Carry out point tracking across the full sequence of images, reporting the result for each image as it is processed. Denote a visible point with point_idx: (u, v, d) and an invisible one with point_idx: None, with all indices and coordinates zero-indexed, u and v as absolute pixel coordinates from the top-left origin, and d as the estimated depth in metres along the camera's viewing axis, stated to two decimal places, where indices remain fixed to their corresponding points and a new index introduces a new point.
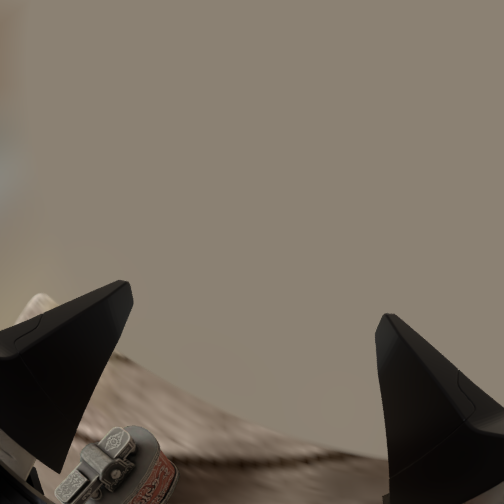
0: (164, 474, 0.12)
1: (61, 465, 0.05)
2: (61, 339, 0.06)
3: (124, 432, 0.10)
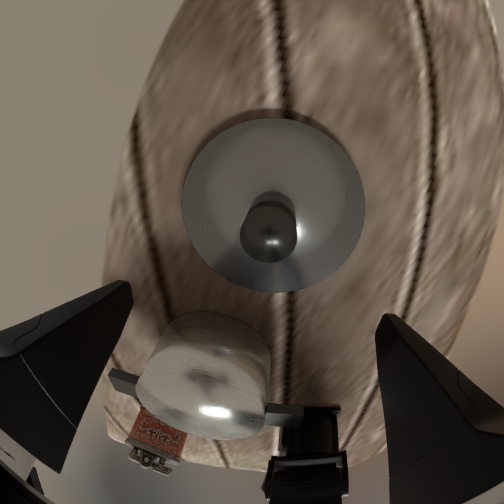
0: (144, 423, 0.30)
1: (61, 465, 0.05)
2: (61, 339, 0.06)
3: (128, 458, 0.25)
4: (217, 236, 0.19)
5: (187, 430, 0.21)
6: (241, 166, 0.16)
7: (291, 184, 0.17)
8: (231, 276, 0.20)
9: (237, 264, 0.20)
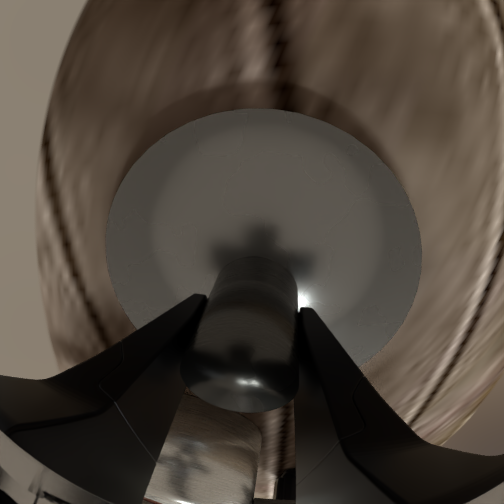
0: None
1: None
2: (151, 371, 0.05)
3: None
4: None
5: (164, 503, 0.14)
6: (193, 210, 0.09)
7: (291, 244, 0.09)
8: None
9: None
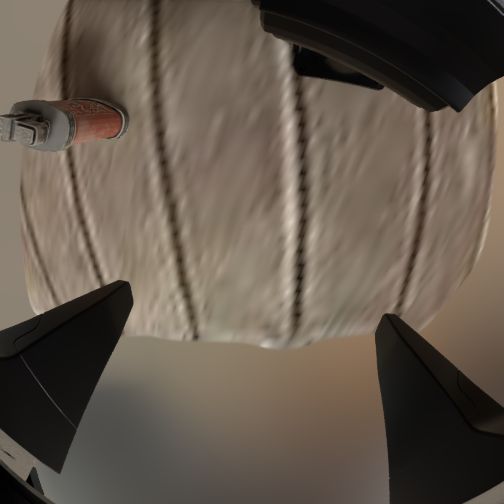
0: None
1: (61, 465, 0.05)
2: (61, 339, 0.06)
3: None
4: None
5: None
6: None
7: None
8: None
9: None
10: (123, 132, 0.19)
